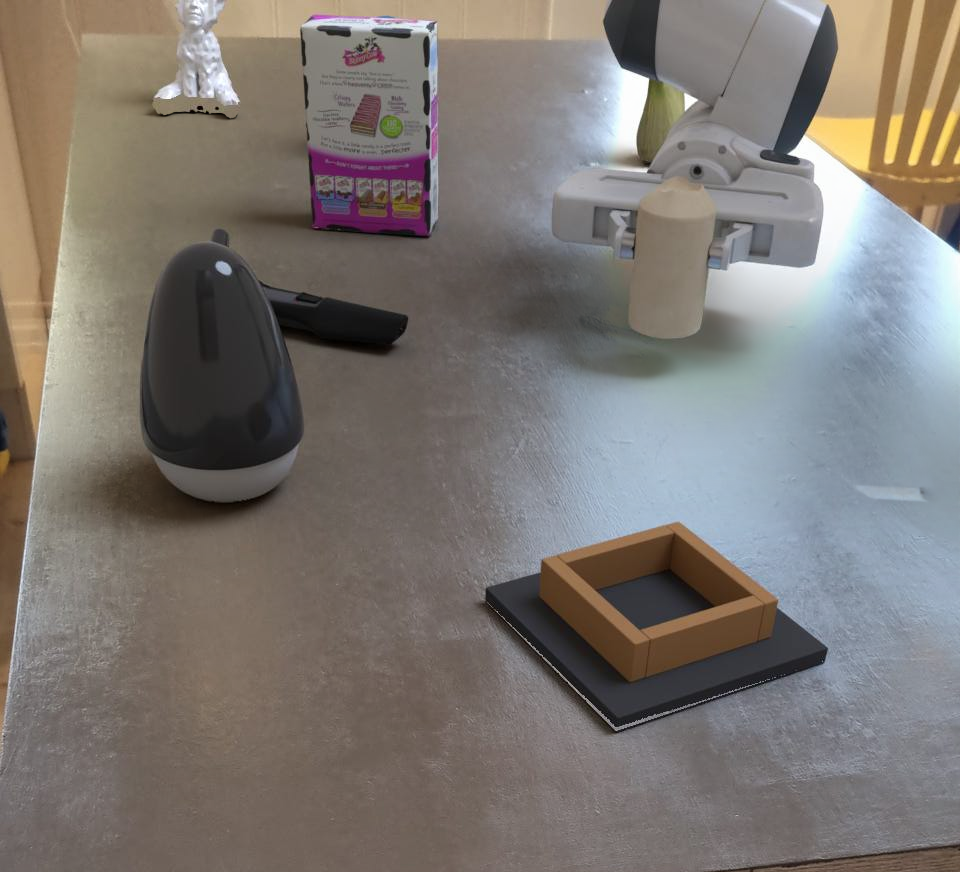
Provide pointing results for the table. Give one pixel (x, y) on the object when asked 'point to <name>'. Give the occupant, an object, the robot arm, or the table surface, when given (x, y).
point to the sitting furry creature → (200, 55)
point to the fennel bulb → (658, 118)
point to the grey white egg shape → (217, 378)
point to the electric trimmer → (335, 317)
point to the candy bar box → (372, 123)
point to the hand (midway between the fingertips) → (671, 253)
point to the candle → (671, 259)
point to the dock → (653, 623)
